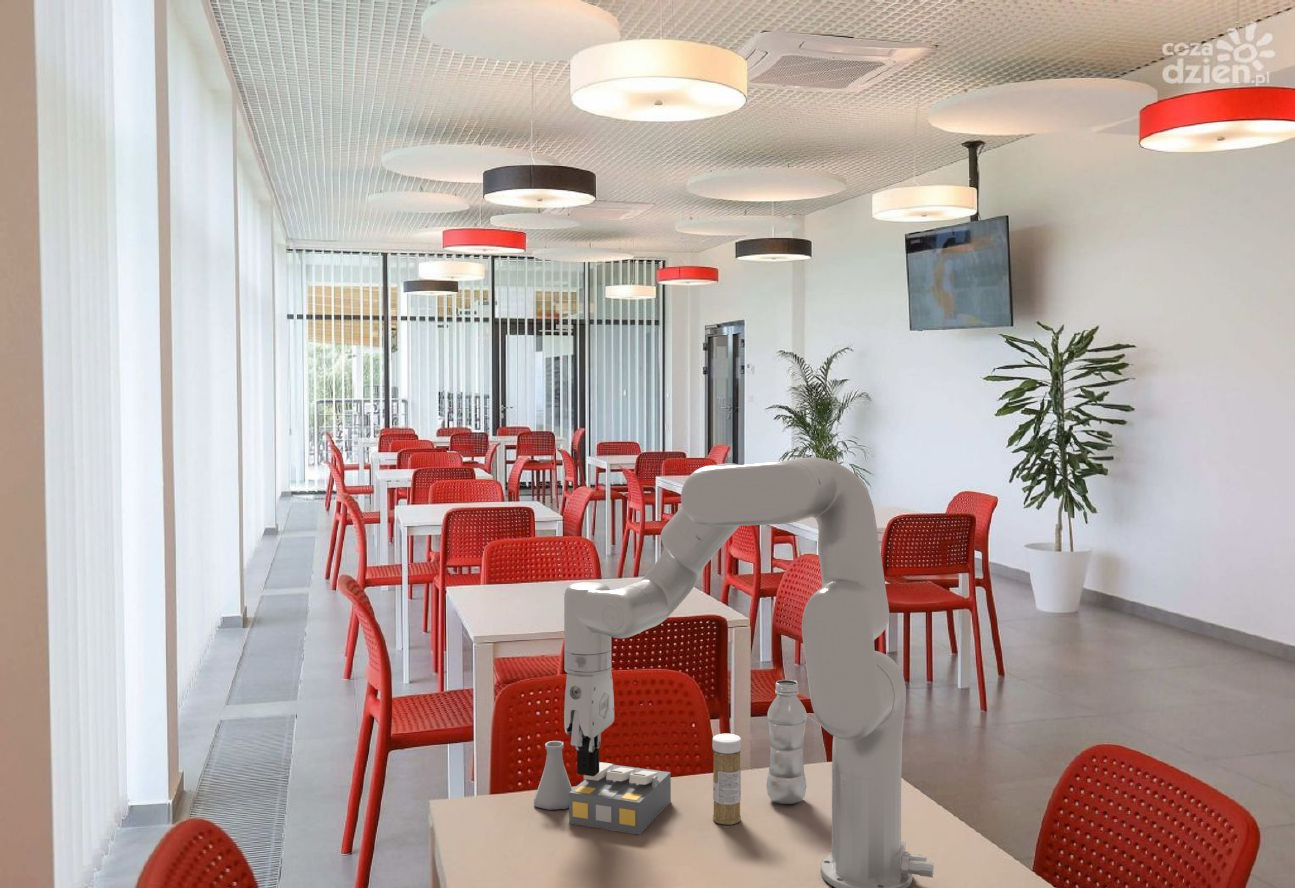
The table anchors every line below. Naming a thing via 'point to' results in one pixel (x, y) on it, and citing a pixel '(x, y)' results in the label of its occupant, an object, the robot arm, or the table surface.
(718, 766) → the sprinkles bottle
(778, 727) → the plastic bottle
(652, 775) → the switch
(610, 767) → the switch
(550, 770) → the flask
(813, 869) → the table surface
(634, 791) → the console
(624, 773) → the switch
